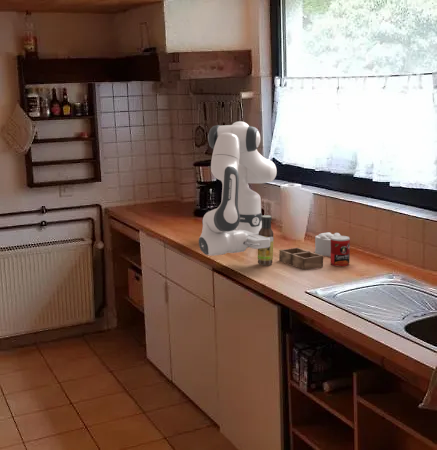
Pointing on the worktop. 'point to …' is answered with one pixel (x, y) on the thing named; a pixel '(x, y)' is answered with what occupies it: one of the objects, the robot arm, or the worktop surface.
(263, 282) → the worktop surface
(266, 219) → the sauce bottle
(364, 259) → the worktop surface
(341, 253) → the canned food
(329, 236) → the lumpy-topped squat cylinder
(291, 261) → the box
